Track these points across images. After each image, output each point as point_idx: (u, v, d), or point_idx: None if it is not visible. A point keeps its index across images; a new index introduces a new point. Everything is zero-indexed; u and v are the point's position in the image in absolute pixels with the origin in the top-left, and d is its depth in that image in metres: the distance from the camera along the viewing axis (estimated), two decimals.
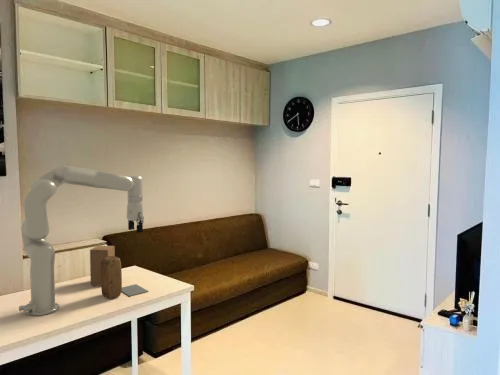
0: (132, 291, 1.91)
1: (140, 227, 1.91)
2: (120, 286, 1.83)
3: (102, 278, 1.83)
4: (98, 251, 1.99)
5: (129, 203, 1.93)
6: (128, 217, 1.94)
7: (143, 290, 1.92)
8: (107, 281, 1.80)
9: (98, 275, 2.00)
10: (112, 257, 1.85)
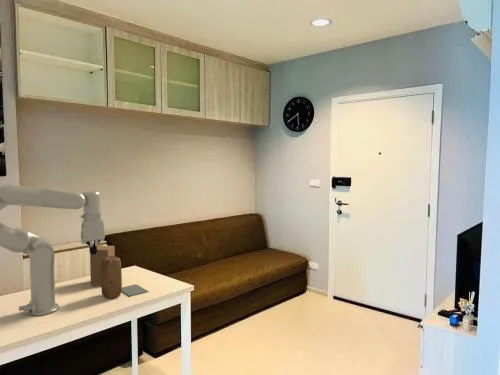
0: (132, 291, 1.91)
1: None
2: (120, 286, 1.83)
3: (102, 278, 1.83)
4: (98, 251, 1.99)
5: (92, 222, 1.74)
6: (90, 238, 1.74)
7: (143, 290, 1.92)
8: (107, 281, 1.80)
9: (98, 275, 2.00)
10: (112, 257, 1.85)
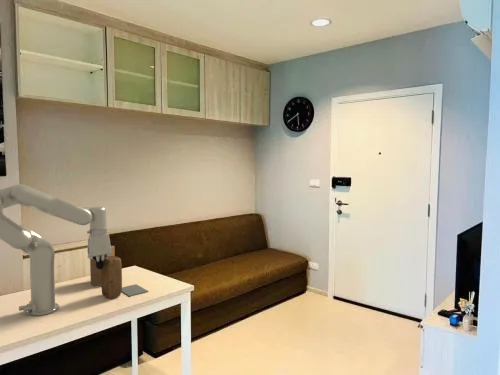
0: (132, 291, 1.91)
1: None
2: (120, 286, 1.83)
3: (102, 278, 1.83)
4: None
5: (98, 237, 1.76)
6: (96, 253, 1.76)
7: (143, 290, 1.92)
8: (107, 281, 1.80)
9: (98, 275, 2.00)
10: (113, 257, 1.85)
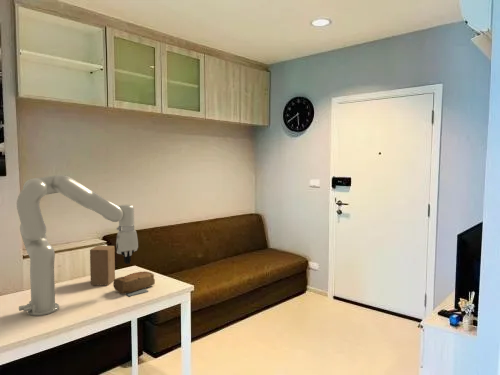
0: None
1: None
2: (133, 289, 1.89)
3: (132, 274, 1.96)
4: (98, 251, 1.99)
5: (127, 233, 1.86)
6: (125, 249, 1.86)
7: (143, 290, 1.92)
8: (136, 276, 1.93)
9: (98, 275, 2.00)
10: None
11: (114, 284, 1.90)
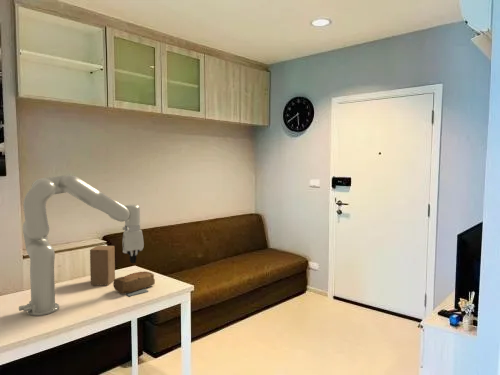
0: None
1: None
2: (133, 289, 1.89)
3: (132, 274, 1.96)
4: (98, 251, 1.99)
5: (133, 233, 1.88)
6: (131, 248, 1.88)
7: (143, 290, 1.92)
8: (136, 276, 1.93)
9: (98, 275, 2.00)
10: None
11: (114, 284, 1.90)
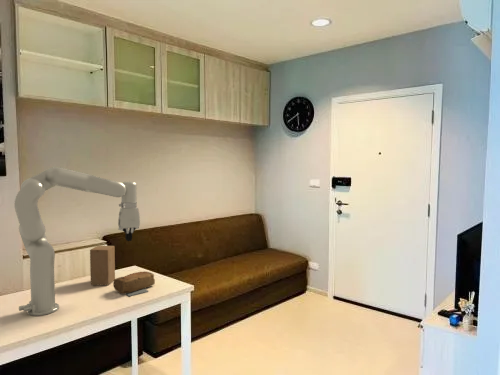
0: None
1: None
2: (133, 289, 1.89)
3: (132, 274, 1.96)
4: (98, 251, 1.99)
5: (129, 210, 1.86)
6: (127, 225, 1.86)
7: (143, 290, 1.92)
8: (136, 276, 1.93)
9: (98, 275, 2.00)
10: None
11: (114, 284, 1.90)
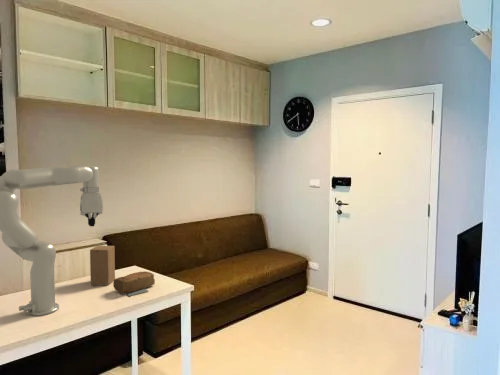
0: None
1: None
2: (133, 289, 1.89)
3: (132, 274, 1.96)
4: (98, 251, 1.99)
5: (90, 195, 1.83)
6: (88, 210, 1.83)
7: (143, 290, 1.92)
8: (136, 276, 1.93)
9: (98, 275, 2.00)
10: None
11: (114, 284, 1.90)
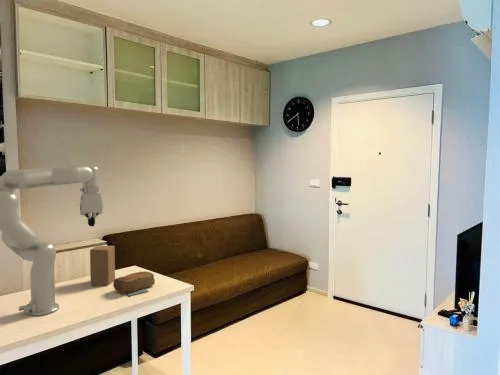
0: None
1: None
2: (133, 289, 1.89)
3: (132, 274, 1.96)
4: (98, 251, 1.99)
5: (90, 195, 1.83)
6: (88, 210, 1.83)
7: (143, 290, 1.92)
8: (136, 276, 1.93)
9: (98, 275, 2.00)
10: None
11: (114, 284, 1.90)
